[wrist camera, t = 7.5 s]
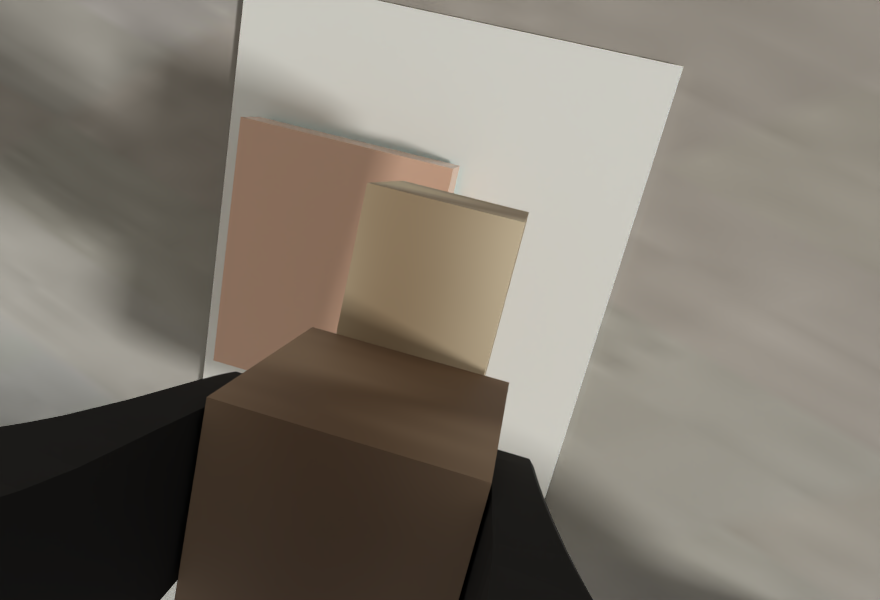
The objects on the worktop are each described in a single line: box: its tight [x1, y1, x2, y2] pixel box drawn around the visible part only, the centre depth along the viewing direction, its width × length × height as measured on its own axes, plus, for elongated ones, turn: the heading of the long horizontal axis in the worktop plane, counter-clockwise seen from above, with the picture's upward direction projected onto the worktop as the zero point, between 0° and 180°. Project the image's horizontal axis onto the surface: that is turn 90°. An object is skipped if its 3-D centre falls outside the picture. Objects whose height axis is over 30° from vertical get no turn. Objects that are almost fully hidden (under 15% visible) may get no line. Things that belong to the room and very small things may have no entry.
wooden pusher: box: [175, 181, 529, 600], centre depth 12 cm, size 4×10×7 cm, turn 167°
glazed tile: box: [213, 117, 460, 370], centre depth 20 cm, size 2×8×6 cm
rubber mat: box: [203, 0, 683, 499], centre depth 21 cm, size 13×16×1 cm
